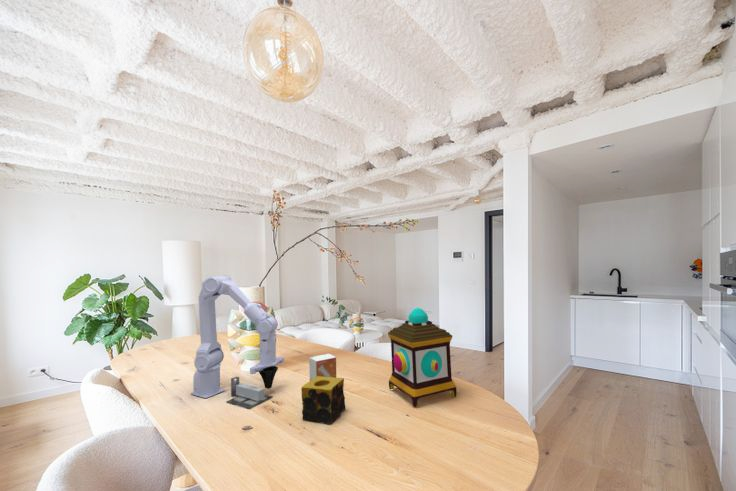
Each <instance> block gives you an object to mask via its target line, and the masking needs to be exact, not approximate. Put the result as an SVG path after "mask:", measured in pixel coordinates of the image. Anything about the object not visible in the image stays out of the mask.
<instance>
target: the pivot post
mask: <svg viewBox="0 0 736 491" xmlns="http://www.w3.org/2000/svg"><path fill="white" fill-rule="evenodd" d="M230 383H231V384H230V386H231V387H230V396H231V397H232V398H235V397H238V396H239V395H236V385H239V384H240V377H239V376H235V377H231V379H230Z"/></svg>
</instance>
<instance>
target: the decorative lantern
mask: <svg viewBox="0 0 736 491" xmlns="http://www.w3.org/2000/svg"><path fill="white" fill-rule="evenodd" d="M387 335H388V337H389V339H390V348H391V351H390V352H391V371H392V372H391V376H390V377H389V380H388V388H389V390H390V389H393V390H394V388H396V389H398V390H400V391H401V392H403V393H404V394H405V395H407V397H410V398H411V403H412V404H411V405H412V407H413V408H417V406H418V401H419V399H421V398H422V399H423V398H425V397H430V396H433V395H434V396H435V395H438V394H441V393H447V392H450V394H451V396H452V398H456V397H457V394H458V392H457V391H458V390H457V387H456V384H455V383H454V380H453V378H452V363H451V341H452V339H453V335H452V334H451V333H450V332H448V331H447V330H446V329H444V328H440V327H438V326H437V325H436V324H434V323H433V321H431V320H429V316H428V314H427V313H426V311H425V310H423V309H422V308H420V307H416V308H413V309H412V310H411V311H410V313H409V314H408V320H405V322H404V323H402V325H399V326H397V327H393V328H392V329H391V330H389V331H388V332H387Z"/></svg>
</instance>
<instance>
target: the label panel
mask: <svg viewBox="0 0 736 491" xmlns="http://www.w3.org/2000/svg"><path fill="white" fill-rule="evenodd" d="M273 398H274V397H273V396H271V395H268V394H264V399H262V400H260V401H257V400H253V399H250V398H246V397H242V396H236V397H232V399H229V400H226V402H225V403H227V404H230V405H233V406H238V407H240V408H244V409H247V410H251V409H253V408H255V407H257V406H259V405H261V404H263V403H265V402H267V401H269V400H271V399H273Z"/></svg>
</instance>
